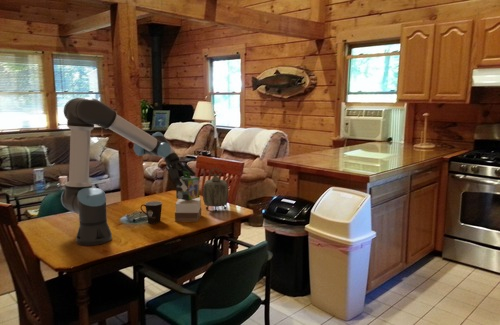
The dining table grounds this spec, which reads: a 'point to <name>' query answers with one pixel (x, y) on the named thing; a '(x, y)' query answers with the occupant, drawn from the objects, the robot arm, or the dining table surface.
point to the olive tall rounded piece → (215, 192)
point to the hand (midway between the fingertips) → (192, 188)
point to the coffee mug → (153, 211)
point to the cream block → (188, 206)
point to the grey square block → (187, 217)
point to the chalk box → (192, 186)
